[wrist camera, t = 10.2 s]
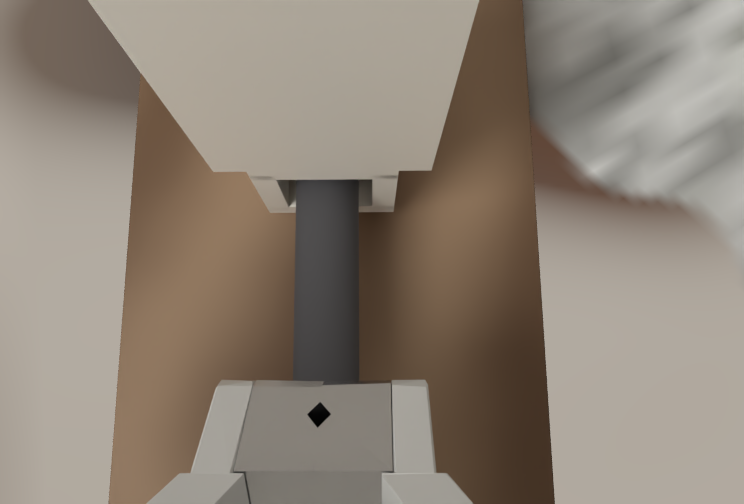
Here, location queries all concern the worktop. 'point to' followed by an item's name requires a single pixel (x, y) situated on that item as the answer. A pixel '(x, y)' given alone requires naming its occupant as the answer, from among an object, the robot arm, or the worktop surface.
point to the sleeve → (302, 84)
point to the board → (376, 288)
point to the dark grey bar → (326, 281)
